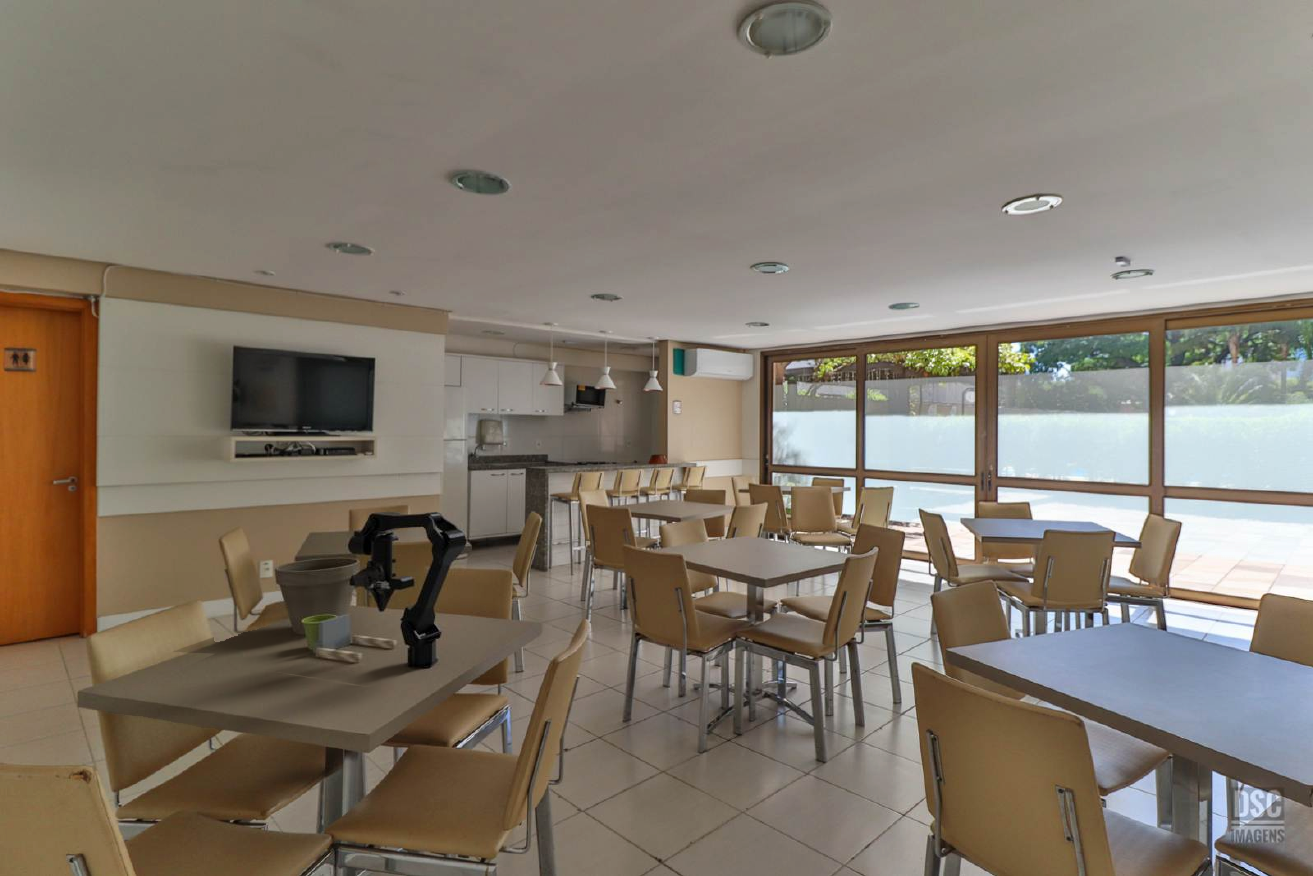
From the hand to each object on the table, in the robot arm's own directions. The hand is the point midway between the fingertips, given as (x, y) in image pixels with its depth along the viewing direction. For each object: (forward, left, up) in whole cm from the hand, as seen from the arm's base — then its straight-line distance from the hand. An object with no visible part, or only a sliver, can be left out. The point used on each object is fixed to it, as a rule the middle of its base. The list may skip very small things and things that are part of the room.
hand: (381, 611), depth 186 cm
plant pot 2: (+23, -9, -13) cm, 28 cm away
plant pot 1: (+34, -29, -13) cm, 47 cm away
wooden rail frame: (+9, -4, -13) cm, 16 cm away
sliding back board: (+18, -7, -13) cm, 23 cm away
